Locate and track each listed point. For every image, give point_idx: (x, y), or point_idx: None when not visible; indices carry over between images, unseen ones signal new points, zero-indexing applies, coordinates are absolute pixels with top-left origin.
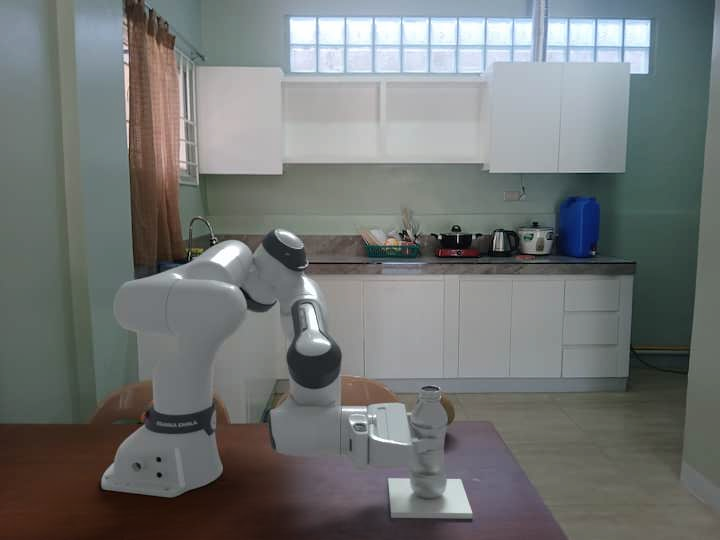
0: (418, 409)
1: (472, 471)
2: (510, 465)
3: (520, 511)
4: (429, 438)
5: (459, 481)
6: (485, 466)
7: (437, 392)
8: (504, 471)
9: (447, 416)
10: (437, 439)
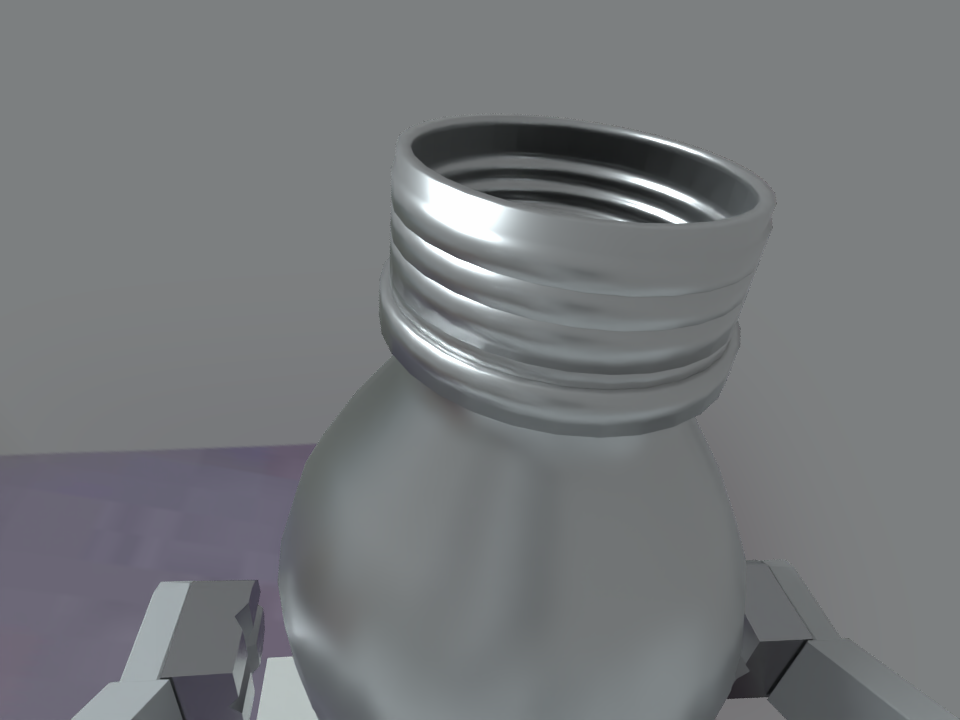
0: (680, 572)
1: (149, 601)
2: (145, 458)
3: None
4: (801, 623)
5: (294, 667)
6: (118, 541)
7: (661, 157)
8: (190, 484)
9: None
10: (757, 560)
